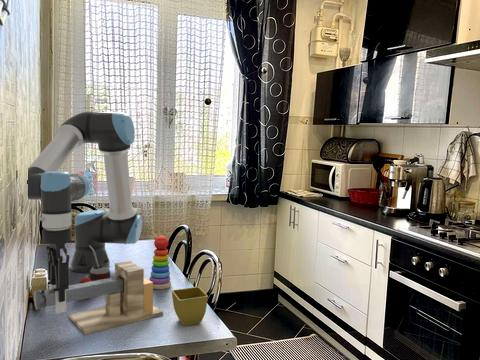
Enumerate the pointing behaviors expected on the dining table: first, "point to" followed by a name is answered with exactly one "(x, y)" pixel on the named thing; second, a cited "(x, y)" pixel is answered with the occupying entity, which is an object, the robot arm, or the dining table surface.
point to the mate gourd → (98, 270)
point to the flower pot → (189, 305)
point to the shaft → (80, 291)
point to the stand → (118, 303)
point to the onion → (85, 280)
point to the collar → (148, 295)
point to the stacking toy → (160, 265)
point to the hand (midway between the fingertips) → (58, 309)
